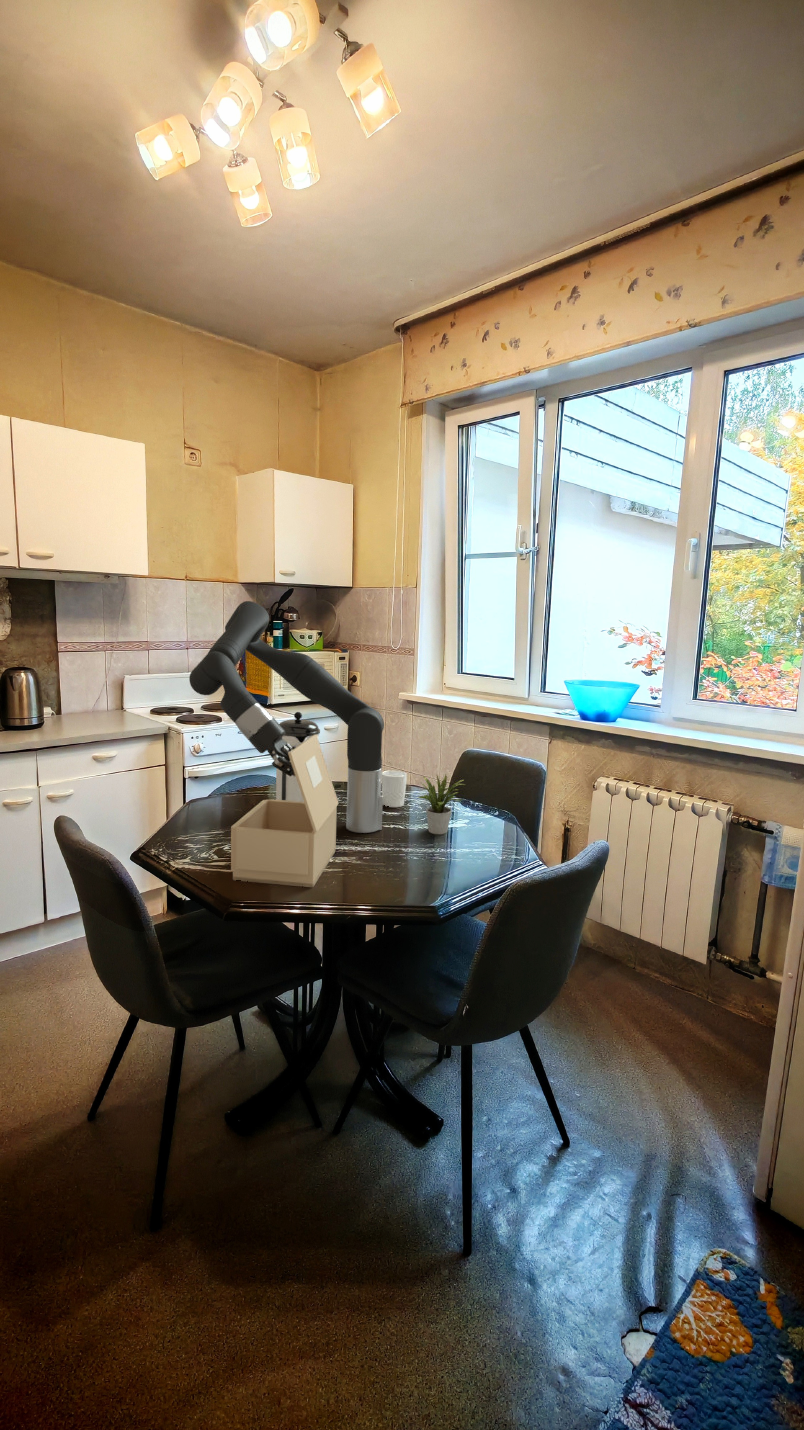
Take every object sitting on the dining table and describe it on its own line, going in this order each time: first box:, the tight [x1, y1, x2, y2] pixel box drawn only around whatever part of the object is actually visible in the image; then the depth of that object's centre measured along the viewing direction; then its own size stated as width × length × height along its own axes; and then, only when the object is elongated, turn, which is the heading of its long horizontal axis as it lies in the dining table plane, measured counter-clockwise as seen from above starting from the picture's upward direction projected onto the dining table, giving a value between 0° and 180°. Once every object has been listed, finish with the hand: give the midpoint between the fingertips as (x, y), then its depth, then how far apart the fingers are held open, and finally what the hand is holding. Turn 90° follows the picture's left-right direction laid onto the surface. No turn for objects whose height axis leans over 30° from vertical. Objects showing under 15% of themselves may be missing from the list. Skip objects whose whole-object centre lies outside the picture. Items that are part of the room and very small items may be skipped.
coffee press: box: [275, 711, 321, 802], centre depth 191 cm, size 17×16×30 cm
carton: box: [230, 798, 338, 888], centre depth 151 cm, size 19×23×12 cm
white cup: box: [381, 769, 408, 808], centre depth 203 cm, size 8×8×10 cm
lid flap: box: [288, 734, 340, 833], centre depth 148 cm, size 18×22×1 cm
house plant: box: [417, 773, 466, 835], centre depth 178 cm, size 14×14×16 cm
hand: (310, 784), depth 148 cm, fingers closed
